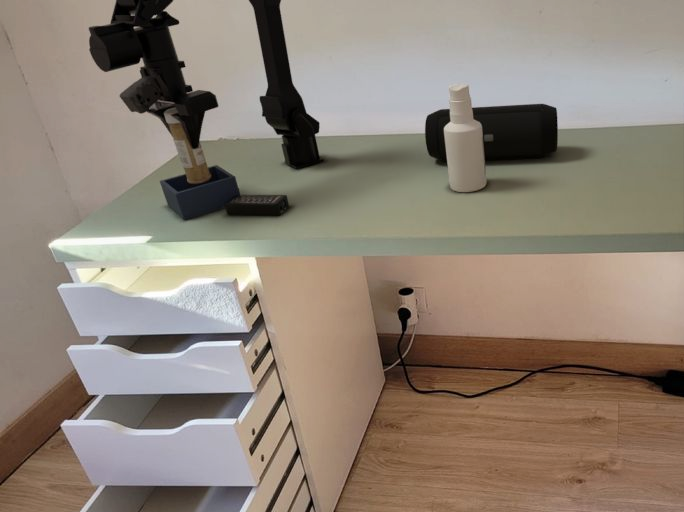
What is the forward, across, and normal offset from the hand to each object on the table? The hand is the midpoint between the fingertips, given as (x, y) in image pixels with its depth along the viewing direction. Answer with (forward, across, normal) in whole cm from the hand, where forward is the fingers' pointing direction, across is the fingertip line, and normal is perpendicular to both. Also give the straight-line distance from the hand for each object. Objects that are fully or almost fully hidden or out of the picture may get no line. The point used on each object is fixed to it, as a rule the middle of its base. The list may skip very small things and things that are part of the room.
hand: (188, 146), depth 131 cm
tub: (+11, 0, 0) cm, 11 cm away
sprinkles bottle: (+7, 0, 0) cm, 7 cm away
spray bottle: (+12, +42, +29) cm, 52 cm away
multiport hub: (+11, +13, +2) cm, 18 cm away
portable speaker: (+12, +37, +44) cm, 59 cm away
